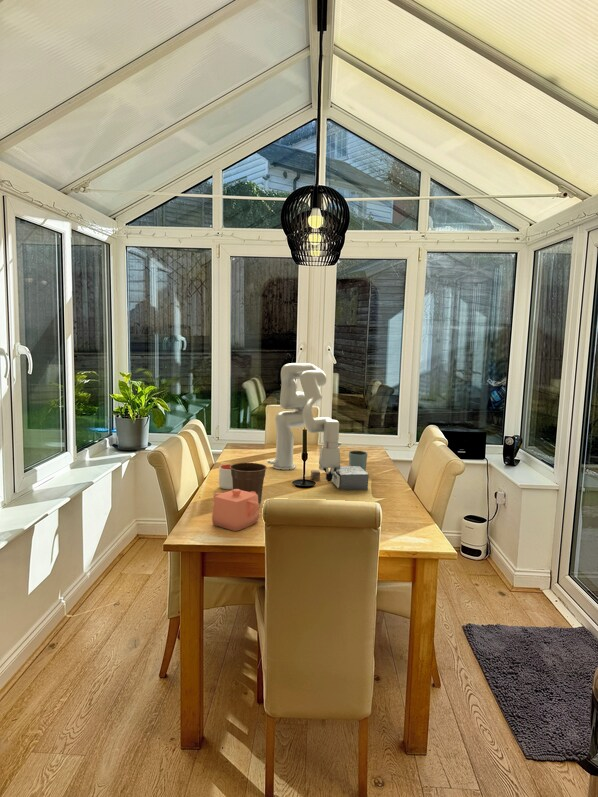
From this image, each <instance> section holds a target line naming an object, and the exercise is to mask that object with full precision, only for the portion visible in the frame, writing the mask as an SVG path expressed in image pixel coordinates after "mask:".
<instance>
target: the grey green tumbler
mask: <svg viewBox="0 0 598 797" xmlns="http://www.w3.org/2000/svg"><path fill="white" fill-rule="evenodd" d="M348 461H349V462H348V463H349V465H348V466H360V467H361V468H362V469H363V470H364V471H366V472H367V464H368V463H367V461H368V451H363V450H350V451H348Z"/></svg>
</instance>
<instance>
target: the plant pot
mask: <svg viewBox="0 0 598 797" xmlns="http://www.w3.org/2000/svg"><path fill="white" fill-rule="evenodd" d="M230 465H231V466H230V469H231V476H232V481H233V489H240V490H243V491H247V492H250V491H254V492H256V494H257V495H258V504H259V505H260V504H261V502H262V495H263V487H264V478H265V477H266V471H267V469H268V467H267V465H265V464H261V463H257V462H237V463H232V464H230ZM233 489H232V490H233Z"/></svg>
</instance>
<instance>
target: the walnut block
mask: <svg viewBox="0 0 598 797" xmlns="http://www.w3.org/2000/svg"><path fill="white" fill-rule="evenodd" d="M311 478H312V479H319V480H318V481H320V480H321V471H320V469H318V470H317V469H316V470H313V469H312V470H310V479H311ZM312 479H311V480H312Z"/></svg>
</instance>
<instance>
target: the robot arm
mask: <svg viewBox="0 0 598 797" xmlns="http://www.w3.org/2000/svg"><path fill="white" fill-rule="evenodd" d="M296 380H299V381H300V385H301V388H302V391H297V388H298V385H297V384H298V383H297V382H296ZM280 381H281V386H280V387H281V388H280V396H279V399H280V400H279V405H280V408H282V409H283V410H284V411H280V412H278V413H277V414H276V415H275V419H274V420H275V426H276V445H275V446H276V447H275V458H274V459H267V461H266V462H267V464H270V465H272V468H274V469H276V470H280V469H282V470H283V471H285V470H286V471H287V470H288V471H289V469H290V470H293V469H296V464H294V441H295V440H294V437H295V436H294V433H293V432H292V429H294V428H302V427H305V428H306V430H307V431H308V432H309V433H311V434H316V433H323V437H322V438H323V440H322V441H323V442H322V446H320V451H319V458H318V459H319V461H318V465H319V466H318V470H319V471H320V470H321V471H324V472H325V480H326V481H327V482H328V483H329V482H331V483H332V476H333V473H334V472H335V471H336V470H339V469H340V466H341V448H340V446H342V442H339V437H340V436H339V435H340V422H339V421H338V420H337V419H332V418H331V417H329V416H321V417H320V416H319V417H314V415H313V411H312V410H313V405H315V404H317V403H319V402H320V401H321V400H322V399H323V395H322V392H321V388H320V387H323V386H325V385H326V383H327V375H326V373H325V372H324V371H323V370H322V369H321V368H319V367H318V366H316V365H315V364H312V363H308V362H303V363H302V362H300V363H299V362H297V363H296V362H291V363H286V364H284V365H283V366H282V367H281V370H280ZM329 469H330V470H329Z"/></svg>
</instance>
